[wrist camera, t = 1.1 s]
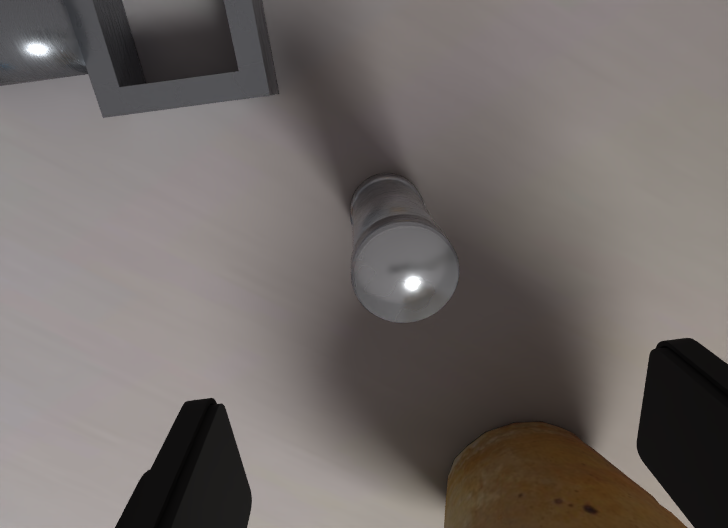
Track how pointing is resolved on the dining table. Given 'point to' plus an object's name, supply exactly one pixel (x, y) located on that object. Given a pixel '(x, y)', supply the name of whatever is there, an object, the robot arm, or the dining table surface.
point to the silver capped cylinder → (399, 252)
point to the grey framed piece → (125, 54)
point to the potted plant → (544, 484)
